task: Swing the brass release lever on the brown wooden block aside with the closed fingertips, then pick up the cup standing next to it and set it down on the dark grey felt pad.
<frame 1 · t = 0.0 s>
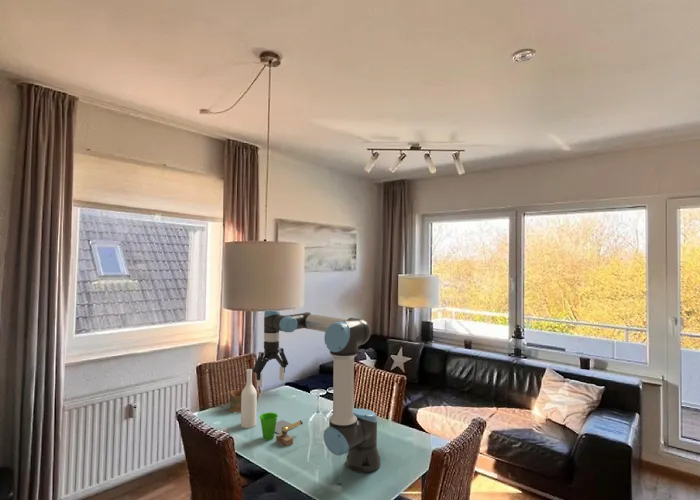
hand: (271, 383, 195), 28 cm above the table, fingers open, 13 cm apart
lever: (292, 425, 197), point 6 cm above the table, hinge at 0.0°
mug: (243, 409, 233), on the table
felt pad: (280, 427, 209), on the table
bottle: (248, 425, 211), on the table
cup: (268, 438, 196), on the table
brown wooden block: (284, 441, 193), on the table
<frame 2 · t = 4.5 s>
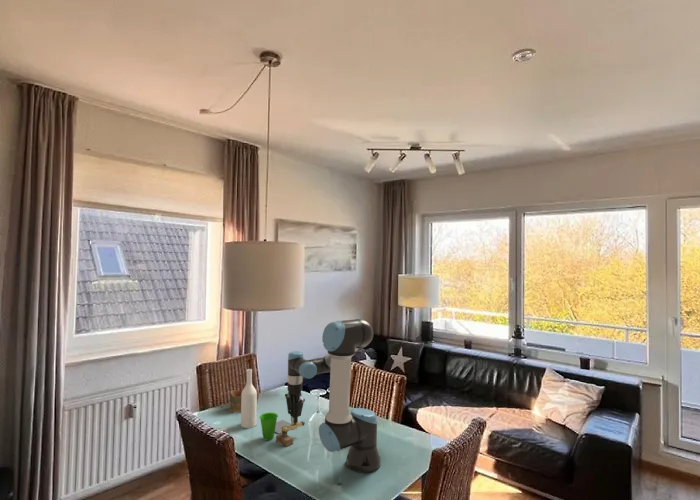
hand: (294, 429, 198), 4 cm above the table, fingers closed
lever: (293, 426, 196), point 6 cm above the table, hinge at 8.4°, touching gripper
everything else where it was.
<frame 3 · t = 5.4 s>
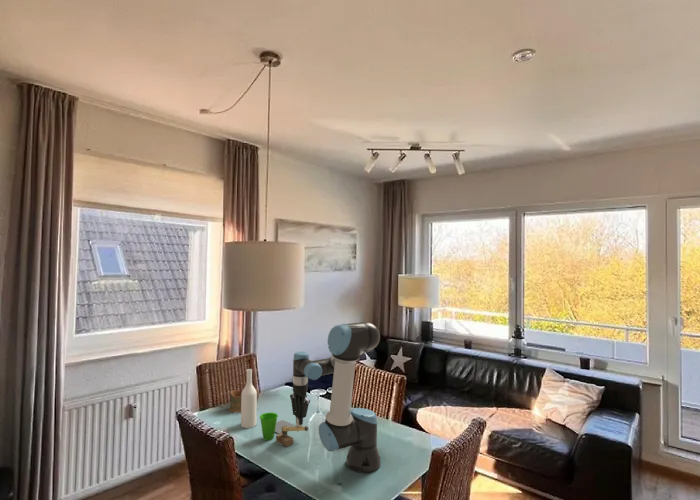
hand: (299, 430, 196), 4 cm above the table, fingers closed
lever: (295, 428, 193), point 6 cm above the table, hinge at 43.7°, touching gripper
everything else where it was.
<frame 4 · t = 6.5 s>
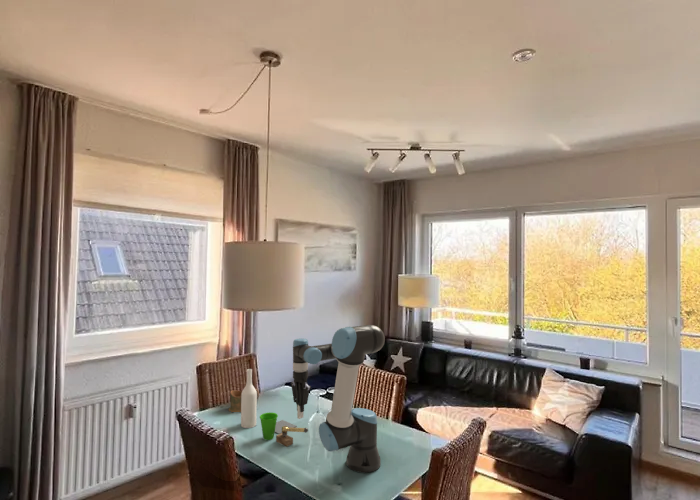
hand: (300, 417, 195), 11 cm above the table, fingers closed
lever: (294, 429, 192), point 6 cm above the table, hinge at 53.6°
everything else where it was.
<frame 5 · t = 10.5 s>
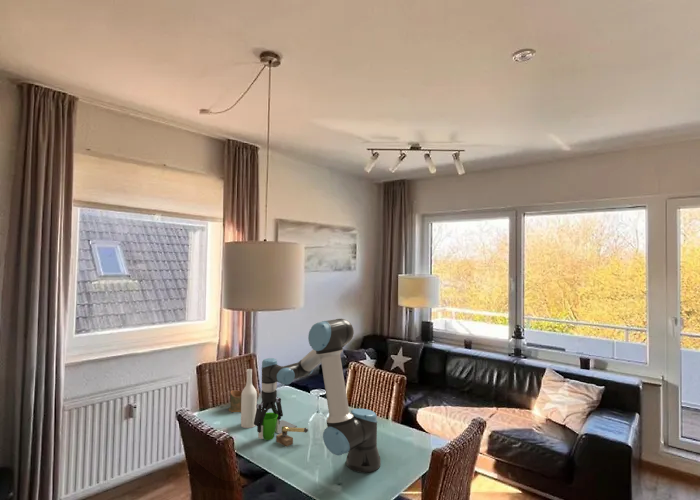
hand: (268, 434, 196), 2 cm above the table, fingers closed on cup, 9 cm apart
cup: (268, 438, 196), on the table, touching gripper
everything else where it was.
when the fingers open (3 cm above the table, at t = 17.2 s): cup drops 1 cm, resting on felt pad.
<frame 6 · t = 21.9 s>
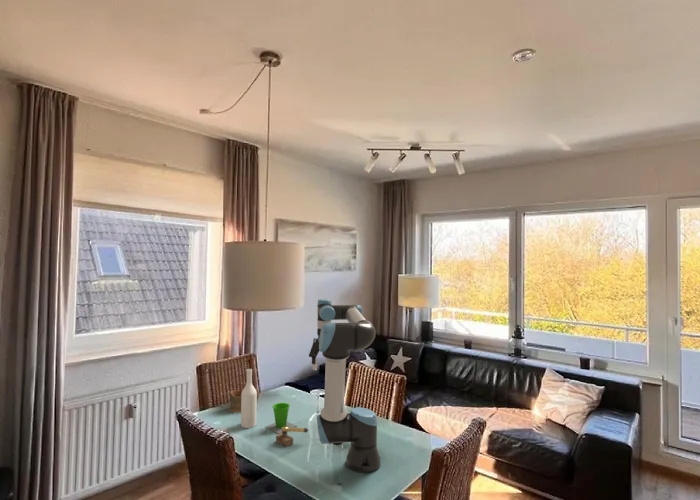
hand: (323, 367, 211), 32 cm above the table, fingers open, 13 cm apart
cup: (281, 426, 209), resting on felt pad
everything else where it was.
at the end: lever at +54° (first picture: +0°); cup inside the target area on the felt pad (0.0 cm from its centre), point 0.2 cm above the felt pad's base; cup tilted 0° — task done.
